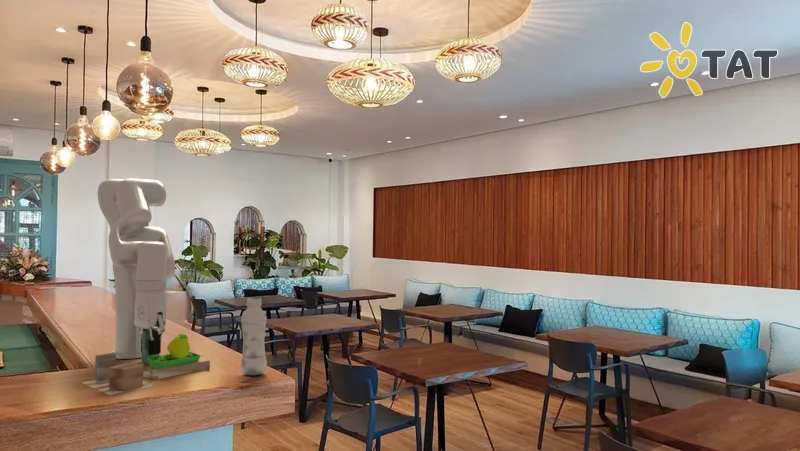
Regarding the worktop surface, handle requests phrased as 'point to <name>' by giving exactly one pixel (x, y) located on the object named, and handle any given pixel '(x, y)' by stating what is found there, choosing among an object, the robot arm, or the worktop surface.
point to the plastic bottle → (253, 338)
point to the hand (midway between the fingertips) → (150, 352)
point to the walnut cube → (125, 377)
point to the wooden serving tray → (168, 371)
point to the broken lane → (109, 391)
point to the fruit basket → (174, 354)
